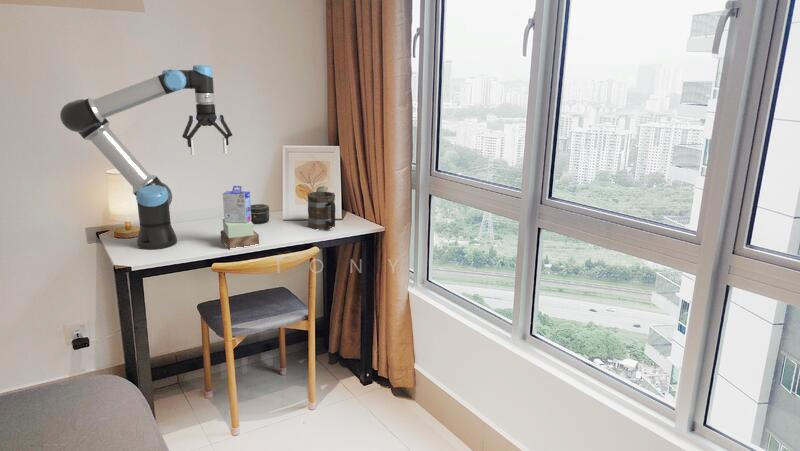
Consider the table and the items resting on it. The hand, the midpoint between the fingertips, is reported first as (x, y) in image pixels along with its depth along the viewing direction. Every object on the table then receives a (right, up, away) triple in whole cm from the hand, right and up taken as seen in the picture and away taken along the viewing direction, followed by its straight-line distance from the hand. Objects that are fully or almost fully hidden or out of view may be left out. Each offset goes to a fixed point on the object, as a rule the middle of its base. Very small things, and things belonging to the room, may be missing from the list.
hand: (209, 154), depth 241 cm
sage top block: (+15, -34, -8) cm, 38 cm away
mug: (+47, -32, +19) cm, 60 cm away
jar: (+15, -29, +26) cm, 42 cm away
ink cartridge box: (+15, -29, -9) cm, 34 cm away
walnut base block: (+15, -39, -6) cm, 42 cm away
